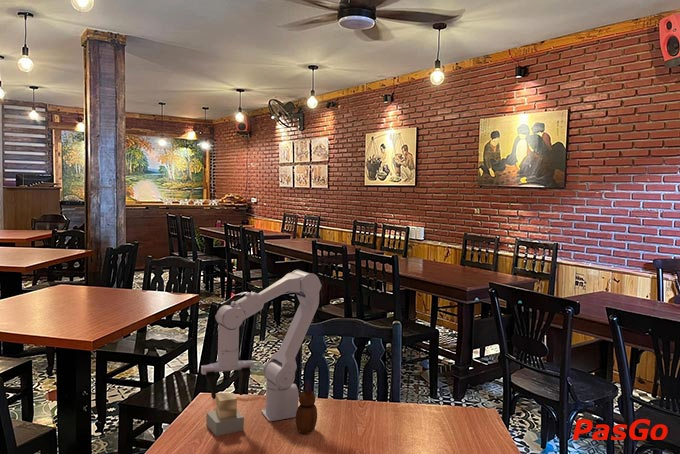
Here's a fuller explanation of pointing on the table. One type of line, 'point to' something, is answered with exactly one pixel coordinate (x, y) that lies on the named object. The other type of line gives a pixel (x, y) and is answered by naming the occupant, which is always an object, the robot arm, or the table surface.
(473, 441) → the table surface
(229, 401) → the maple cube
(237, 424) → the slate base block
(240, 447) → the table surface
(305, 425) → the wooden figurine
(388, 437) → the table surface
